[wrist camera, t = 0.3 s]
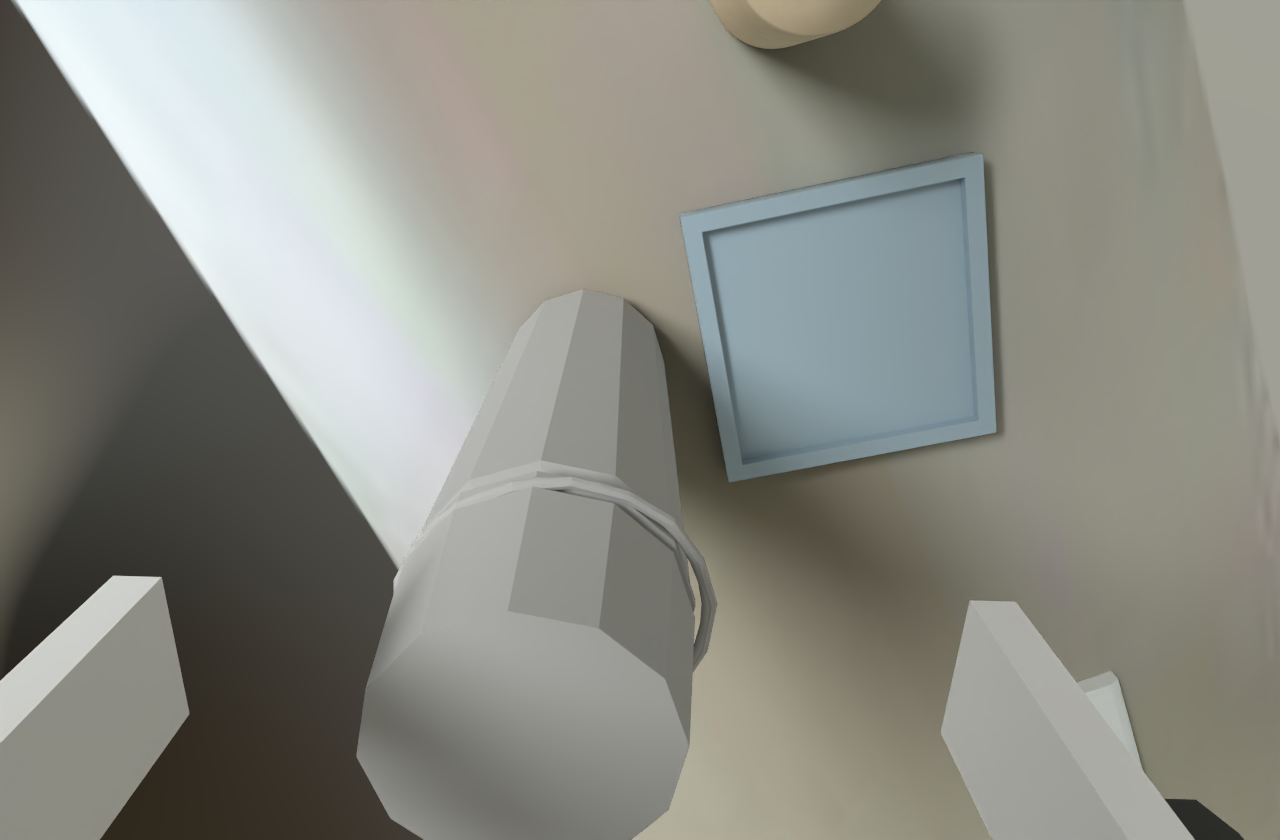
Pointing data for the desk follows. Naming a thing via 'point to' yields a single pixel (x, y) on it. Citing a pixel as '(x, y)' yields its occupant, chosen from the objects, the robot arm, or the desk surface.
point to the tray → (846, 316)
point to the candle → (788, 19)
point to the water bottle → (546, 603)
